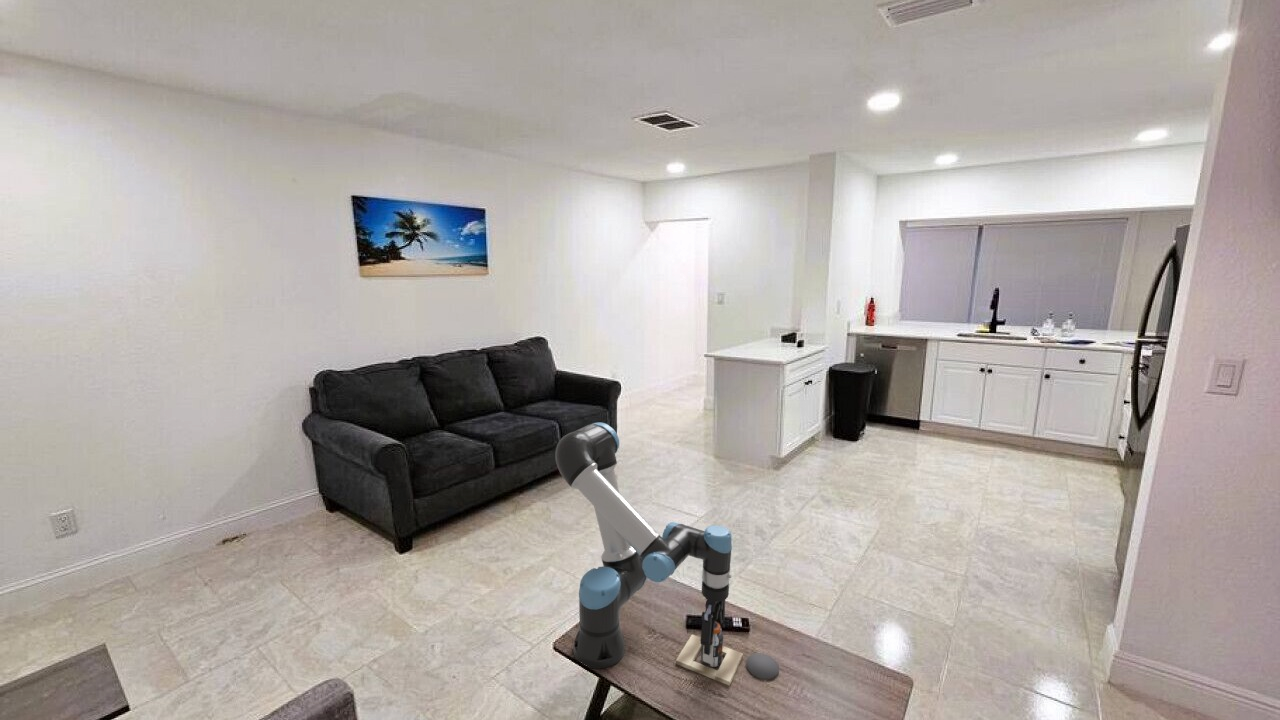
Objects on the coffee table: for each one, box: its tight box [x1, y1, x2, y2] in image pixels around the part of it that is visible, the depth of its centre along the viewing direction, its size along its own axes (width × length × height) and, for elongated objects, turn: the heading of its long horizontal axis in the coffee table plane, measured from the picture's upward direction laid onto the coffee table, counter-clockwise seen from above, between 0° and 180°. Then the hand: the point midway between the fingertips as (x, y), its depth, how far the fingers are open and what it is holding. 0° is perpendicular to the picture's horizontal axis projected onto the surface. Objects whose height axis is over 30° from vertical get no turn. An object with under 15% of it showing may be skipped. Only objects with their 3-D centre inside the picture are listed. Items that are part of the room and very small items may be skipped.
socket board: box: [675, 634, 744, 687], centre depth 149 cm, size 16×12×1 cm
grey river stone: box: [745, 652, 780, 681], centre depth 147 cm, size 9×9×1 cm
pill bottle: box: [700, 621, 724, 668], centre depth 148 cm, size 6×6×11 cm
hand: (711, 654), depth 149 cm, fingers closed on pill bottle, 6 cm apart
